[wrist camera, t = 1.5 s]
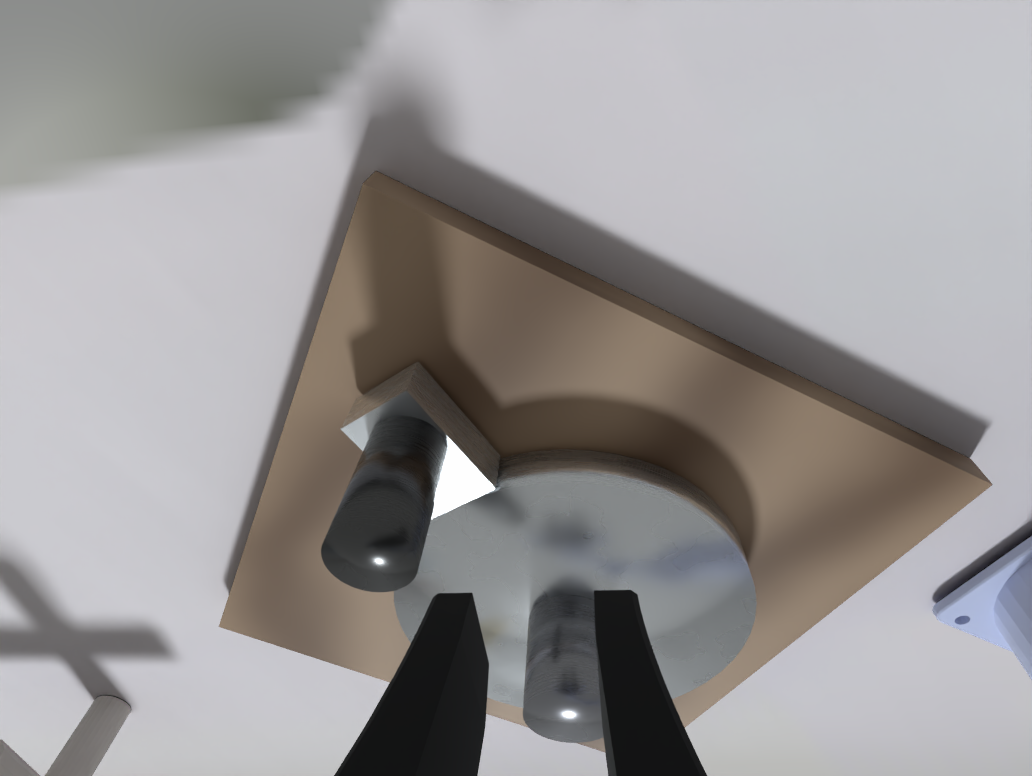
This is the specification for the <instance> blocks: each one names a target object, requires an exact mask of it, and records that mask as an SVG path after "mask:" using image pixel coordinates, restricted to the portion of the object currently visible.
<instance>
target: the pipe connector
mask: <svg viewBox="0 0 1032 776" xmlns="http://www.w3.org/2000/svg"><path fill="white" fill-rule="evenodd" d="M130 711H131V708H130V706H129V705H128V704H127V703H126V702H124V701H123V700H121V699H119V698H116V697H112V696H99V697H97V698H96V699H95V701H94V702H93V704H92V705H91V707H90V708H89V710H88V711H87V713H86V714H85V716H84V717H83V719H82V720H81V722H80V723H79V725H78V726H77V728H76V729H75V731H74V732H73V734H72V735H71V737H70V738H69V740H68V741H67V743H66V744H65V746H64V747H63V749H62V750H61V752H60V753H59V755H58V756H57V758H56V760H55V761H54V763H53V764H52V766H51V767H50V769H49V770H48V772H47V773H46V775H45V776H92V775H93V773H94V772H95V770H96V768H97V767H98V765H99V763H100V762H101V760H102V758H103V757H104V755H105V753H106V752H107V750H108V748H109V747H110V745H111V743H112V742H113V740H114V738H115V737H116V735H117V733H118V732H119V730H120V728H121V727H122V725H123V723H124V722H125V720H126V718H127V717H128V715H129V713H130ZM0 776H40V775H39V774H38V773H37V772H36V771H35V770H33V769H32V768H31V767H30V766H29V765H28V764H27V763H26V762H25V761H24V760H23V759H22V758H21V757H20V756H19V755H18V754H16V753H15V752H14V751H13V750H12V749H11V748H10V747H9V746H8V745H7V744H6V743H5V742H4V741H3V740H0Z"/></svg>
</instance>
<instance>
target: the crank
mask: <svg viewBox="0 0 1032 776" xmlns="http://www.w3.org/2000/svg"><path fill="white" fill-rule="evenodd" d="M341 430H342V431H343V432H344V433H345V434H346V435H347V436H348V437H349V438H350V439H351V440H352V441H353V442H354V443H355V444H356V445H357V446H358V447H359V448H360V449H361V450H362V451H363V452H362V455H361V457H360V459H359V462H358V464H357V466H356V468H355V471H354V473H353V475H352V477H351V480H350V482H349V484H348V487H347V489H346V491H345V493H344V496H343V498H342V500H341V503H340V505H339V507H338V509H337V512H336V514H335V516H334V518H333V521H332V523H331V525H330V528H329V530H328V532H327V534H326V537H325V539H324V541H323V544H322V547H321V557H322V560H323V562H324V565H325V566H326V568H327V569H328V570H329V571H330V573H331V574H332V575H334V576H335V577H336V578H337V579H339V580H340V581H342V582H343V583H345V584H347V585H349V586H351V587H354V588H357V589H360V590H364V591H369V592H391V591H394V604H395V609H396V615H397V617H398V620H399V622H400V625H401V628H402V630H403V631H404V633H405V635H406V636H407V638H408V640H409V641H410V643H411V642H412V640H413V638H414V636H415V634H416V632H417V630H418V628H419V626H420V624H421V622H422V620H423V618H424V616H425V614H426V611H427V609H428V607H429V605H430V602H431V600H432V598H433V597H434V596H435V595H436V594H438V593H473V598H474V602H475V606H476V610H477V615H478V619H479V623H480V627H481V632H482V636H483V640H484V644H485V648H486V653H487V657H488V661H489V674H488V691H487V697H488V698H490V699H493V700H496V701H499V702H502V703H506V704H509V705H512V706H516V707H521V708H523V701H524V685H525V669H526V653H527V637H528V621H529V614H530V612H531V610H532V609H533V608H534V606H535V605H537V604H538V603H539V602H541V601H543V600H545V599H547V598H550V597H553V596H558V595H580V596H585V597H588V598H591V599H593V600H594V590H632V591H633V592H635V593H636V594H638V599H639V604H640V609H641V613H642V616H643V620H644V624H645V627H646V630H647V634H648V637H649V640H650V643H651V646H652V649H653V652H654V654H655V657H656V660H657V663H658V665H659V668H660V671H661V673H662V676H663V679H664V681H665V684H666V686H667V689H668V691H669V693H670V696H671V698H672V699H674V698H676V697H678V696H681V695H683V694H685V693H688V692H690V691H692V690H694V689H695V688H697V687H699V686H701V685H702V684H704V683H706V682H707V681H709V680H710V679H712V678H713V677H714V676H716V675H717V674H718V673H720V672H721V671H722V670H723V669H724V668H725V667H726V666H727V665H728V664H730V663H731V662H732V661H733V660H734V658H735V657H736V656H737V654H738V653H739V652H740V651H741V649H742V648H743V646H744V645H745V643H746V641H747V639H748V637H749V635H750V633H751V630H752V627H753V624H754V621H755V615H756V605H757V601H756V592H755V586H754V583H753V579H752V576H751V573H750V570H749V566H748V563H747V560H746V557H745V553H744V550H743V547H742V544H741V541H740V538H739V535H738V533H737V531H736V530H735V528H734V526H733V524H732V522H731V521H730V519H729V518H728V516H727V515H726V514H725V513H724V512H723V510H722V509H721V508H720V507H719V505H718V504H717V503H716V502H715V501H713V500H712V499H711V498H710V497H709V496H708V495H707V494H706V493H705V492H703V491H702V490H701V489H699V488H698V487H696V486H695V485H693V484H692V483H690V482H689V481H687V480H686V479H684V478H683V477H681V476H679V475H677V474H675V473H673V472H671V471H669V470H667V469H665V468H662V467H660V466H657V465H654V464H651V463H649V462H646V461H643V460H640V459H636V458H632V457H628V456H624V455H620V454H616V453H609V452H601V451H594V450H576V449H558V450H544V451H535V452H529V453H523V454H518V455H513V456H509V457H506V458H502V459H500V455H499V453H498V452H497V451H496V450H495V449H494V448H493V446H492V445H491V444H490V443H489V442H488V441H487V440H486V438H485V437H484V436H483V435H482V434H481V433H480V432H479V430H478V429H477V428H476V427H475V426H474V425H473V424H472V422H471V421H470V420H469V419H468V418H467V417H466V416H465V414H464V413H463V412H462V411H461V410H460V409H459V407H458V406H457V405H456V404H455V403H454V402H453V401H452V399H451V398H450V397H449V396H448V395H447V394H446V393H445V391H444V390H443V389H442V388H441V387H440V386H439V385H438V383H437V382H436V381H435V380H434V379H433V378H432V377H431V375H430V374H429V373H428V372H427V371H426V370H425V369H424V367H423V366H422V365H421V364H420V363H419V362H416V363H414V364H413V365H411V366H409V367H408V368H406V369H404V370H403V371H401V372H399V373H398V374H396V375H394V376H393V377H391V378H389V379H388V380H386V381H384V382H383V383H381V384H379V385H378V386H376V387H374V388H373V389H371V390H369V391H368V392H366V393H364V394H363V395H361V396H359V397H358V398H356V400H355V402H354V404H353V406H352V408H351V410H350V411H349V413H348V415H347V417H346V419H345V421H344V423H343V425H342V427H341Z"/></svg>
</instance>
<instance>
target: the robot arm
mask: <svg viewBox="0 0 1032 776" xmlns="http://www.w3.org/2000/svg"><path fill="white" fill-rule="evenodd" d="M594 611H595V637H596V650H597V663H598V677H599V690H600V703H601V717H602V729H603V737H604V745H605V752H606V760H607V768H608V775H609V776H707V775H706V773H705V771H704V769H703V767H702V764H701V762H700V760H699V758H698V756H697V754H696V752H695V750H694V748H693V746H692V743H691V741H690V739H689V737H688V735H687V733H686V730H685V728H684V726H683V723H682V721H681V719H680V716H679V714H678V712H677V710H676V707H675V705H674V703H673V700H672V698H671V696H670V693H669V691H668V689H667V686H666V684H665V681H664V679H663V676H662V673H661V671H660V668H659V665H658V663H657V660H656V657H655V654H654V652H653V649H652V646H651V643H650V640H649V637H648V634H647V630H646V627H645V624H644V620H643V616H642V613H641V609H640V604H639V599H638V594H636V593H635V592H633V591H632V590H594ZM933 613H934V615H935V616H936V618H937V620H939V621H940V622H942V623H944V624H947V625H949V626H952V627H954V628H956V629H959V630H961V631H964V632H966V633H968V634H971V635H973V636H976V637H978V638H980V639H983V640H985V641H988V642H990V643H992V644H995V645H997V646H1000V647H1002V648H1004V649H1007V650H1009V651H1012V652H1013V653H1014V654H1015V656H1016V657H1017V659H1018V660H1019V662H1020V663H1021V665H1022V666H1023V668H1024V669H1025V671H1026V672H1027V674H1028V675H1029V677H1030V678H1031V680H1032V536H1031V537H1029V538H1028V539H1026V540H1025V541H1024V542H1022V543H1021V544H1019V545H1018V546H1016V547H1015V548H1014V549H1012V550H1011V551H1009V552H1008V553H1007V554H1005V555H1004V556H1002V557H1001V558H1000V559H998V560H997V561H995V562H994V563H992V564H991V565H990V566H988V567H987V568H985V569H984V570H983V571H981V572H980V573H978V574H977V575H976V576H974V577H973V578H971V579H970V580H968V581H967V582H966V583H964V584H963V585H961V586H960V587H959V588H957V589H956V590H954V591H953V592H952V593H950V594H949V595H947V596H946V597H944V598H943V599H942V600H940V601H939V602H937V603H936V604H935V605H934V607H933ZM488 674H489V661H488V657H487V653H486V648H485V644H484V640H483V636H482V632H481V627H480V623H479V619H478V615H477V610H476V606H475V602H474V598H473V593H438V594H436V595H435V596H434V597H433V598H432V600H431V602H430V605H429V607H428V609H427V611H426V614H425V616H424V618H423V620H422V622H421V624H420V626H419V628H418V630H417V632H416V634H415V636H414V638H413V640H412V642H411V644H410V646H409V648H408V650H407V652H406V654H405V656H404V658H403V660H402V662H401V663H400V665H399V667H398V669H397V671H396V673H395V675H394V677H393V678H392V680H391V682H390V684H389V685H388V687H387V689H386V691H385V693H384V694H383V696H382V698H381V700H380V701H379V703H378V705H377V707H376V708H375V710H374V712H373V714H372V716H371V717H370V719H369V721H368V722H367V724H366V726H365V727H364V729H363V731H362V732H361V734H360V736H359V737H358V739H357V740H356V742H355V744H354V745H353V747H352V748H351V750H350V752H349V753H348V755H347V756H346V758H345V759H344V761H343V763H342V764H341V766H340V767H339V769H338V771H337V772H336V774H335V775H334V776H477V774H478V768H479V762H480V756H481V749H482V743H483V737H484V730H485V721H486V707H487V691H488Z"/></svg>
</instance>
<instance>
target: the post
mask: <svg viewBox="0 0 1032 776" xmlns="http://www.w3.org/2000/svg"><path fill="white" fill-rule="evenodd" d="M523 719H524V721H525V723H526V725H527V726H528V727H529V728H530V729H531V730H533V731H534V732H535V733H537V734H539V735H541V736H543V737H546V738H548V739H552V740H555V741H560V742H569V743H581V742H589V741H594V740H598V739H601V738H603V729H602V717H601V703H600V690H599V677H598V663H597V650H596V637H595V611H594V600H593V599H591V598H588V597H585V596H580V595H558V596H553V597H550V598H547V599H545V600H543V601H541V602H539V603H538V604H537V605H535V606H534V608H533V609H532V610H531V612H530V614H529V621H528V637H527V653H526V669H525V685H524V701H523Z"/></svg>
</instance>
